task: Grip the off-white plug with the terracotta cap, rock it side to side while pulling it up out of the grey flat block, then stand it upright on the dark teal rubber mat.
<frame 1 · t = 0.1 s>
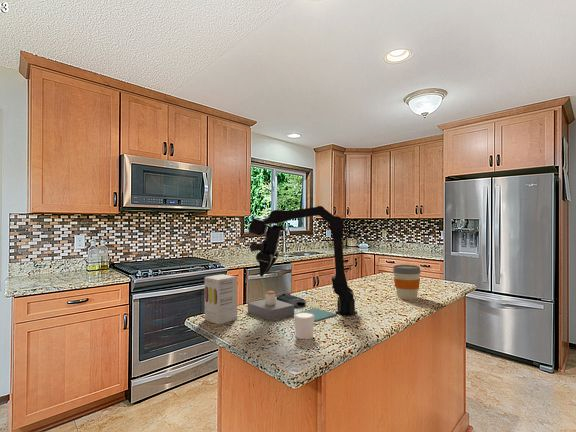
hand: (263, 274, 136), 15 cm above the countertop, tool pointing down, fingers open, 9 cm apart
grey flat block: (270, 313, 131), on the countertop
supplement box: (221, 320, 124), on the countertop
electronic device: (292, 304, 146), on the countertop
mat: (315, 315, 128), on the countertop
reusable coffee cup: (407, 297, 154), on the countertop
white cylinder: (304, 336, 105), on the countertop
plug: (270, 302, 131), in the grey flat block
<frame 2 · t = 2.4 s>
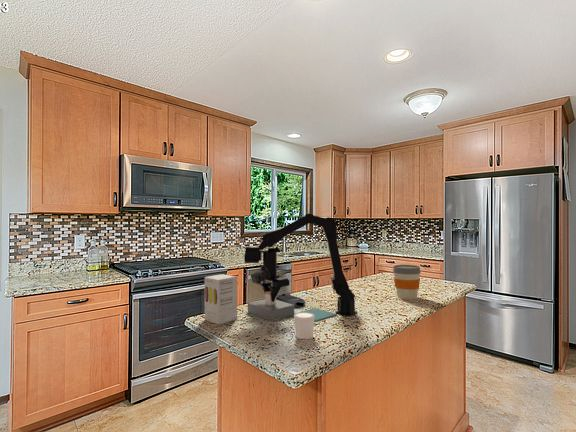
hand: (270, 300, 131), 5 cm above the countertop, tool pointing down, fingers closed on plug, 3 cm apart
plug: (270, 302, 131), in the grey flat block, touching gripper
everything else where it was.
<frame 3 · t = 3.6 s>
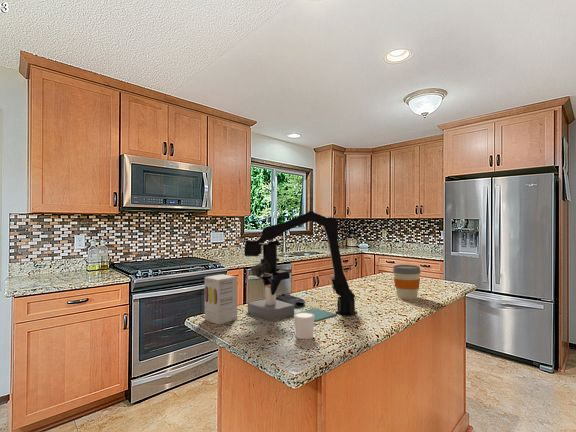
hand: (270, 294, 131), 8 cm above the countertop, tool pointing down, fingers closed on plug, 3 cm apart
plug: (270, 295, 131), point 7 cm above the countertop, touching gripper
everything else where it was.
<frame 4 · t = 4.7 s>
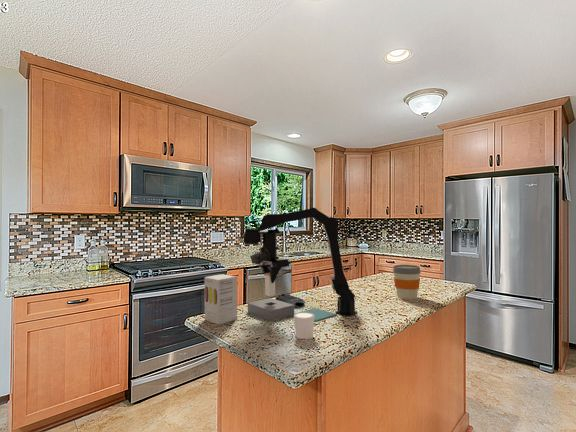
hand: (270, 282, 131), 13 cm above the countertop, tool pointing down, fingers closed on plug, 3 cm apart
plug: (270, 284, 131), point 12 cm above the countertop, touching gripper
everything else where it was.
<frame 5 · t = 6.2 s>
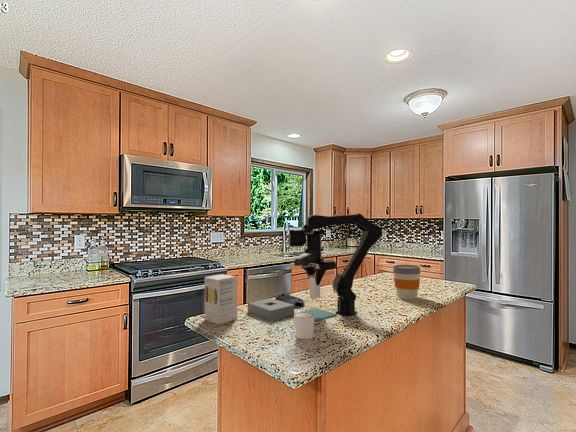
hand: (314, 284, 128), 12 cm above the countertop, tool pointing down, fingers closed on plug, 3 cm apart
plug: (314, 286, 128), point 12 cm above the countertop, touching gripper
everything else where it was.
when the fingers open (7 cm above the countertop, at t = 7.3 s): plug drops 1 cm, resting on mat.
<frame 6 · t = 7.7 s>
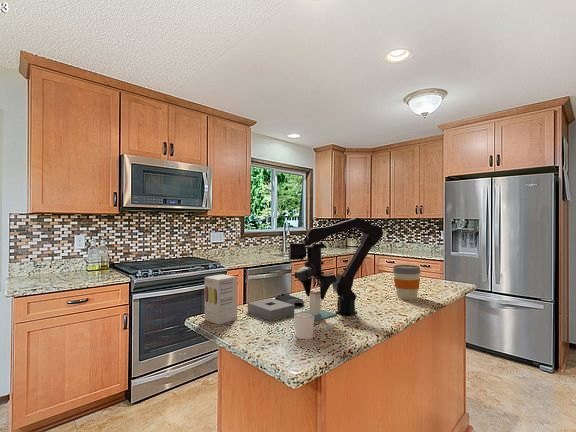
hand: (315, 297, 128), 7 cm above the countertop, tool pointing down, fingers open, 8 cm apart
plug: (315, 302, 128), on the mat
everything else where it was.
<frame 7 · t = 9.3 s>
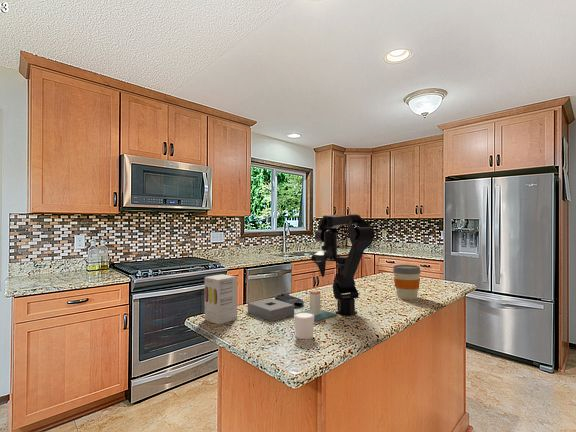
hand: (330, 278, 142), 12 cm above the countertop, tool pointing down, fingers open, 9 cm apart
nothing on the countertop moved.
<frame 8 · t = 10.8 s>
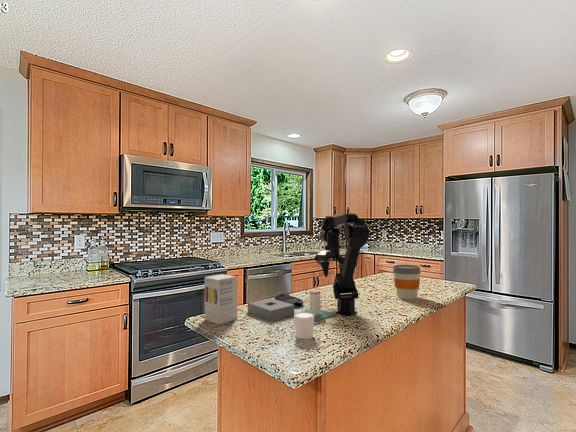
hand: (333, 278, 143), 12 cm above the countertop, tool pointing down, fingers open, 9 cm apart
at the end: plug inside the target area (0.0 cm from its centre), point 5.0 cm above the countertop; plug tilted 0°; the gripper is holding nothing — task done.
